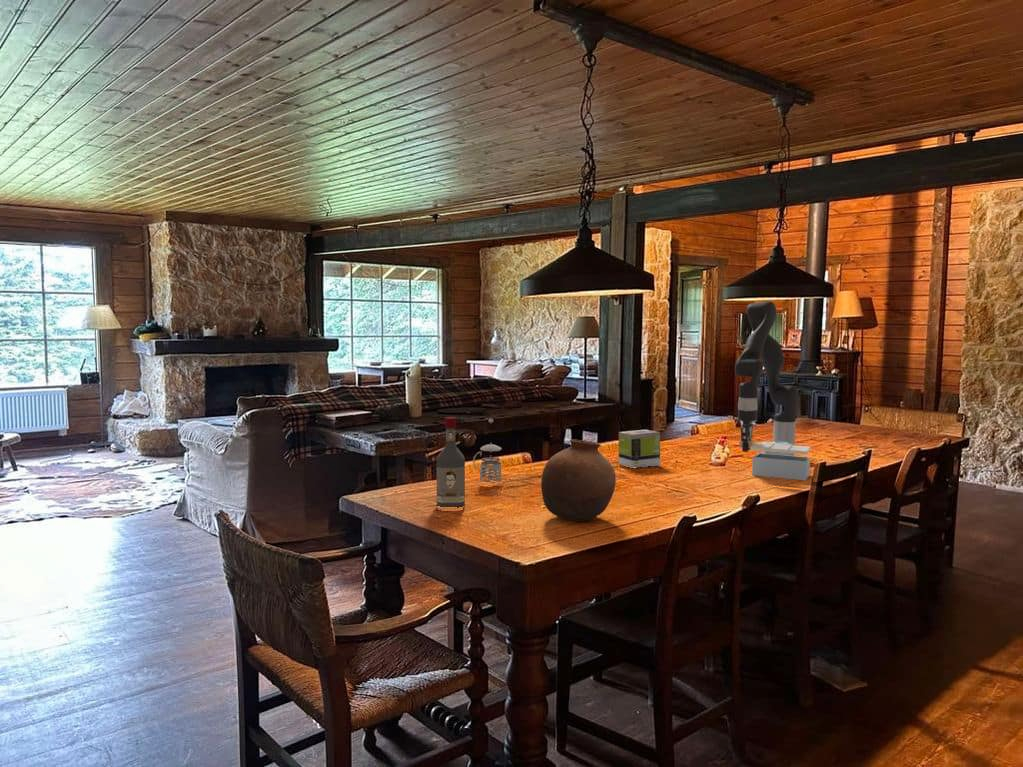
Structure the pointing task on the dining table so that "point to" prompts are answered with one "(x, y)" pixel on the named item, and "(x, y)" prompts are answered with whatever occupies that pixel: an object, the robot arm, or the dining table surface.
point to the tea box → (639, 448)
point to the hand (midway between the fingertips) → (746, 450)
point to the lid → (777, 447)
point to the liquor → (450, 471)
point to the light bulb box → (777, 452)
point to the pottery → (578, 482)
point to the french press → (487, 461)
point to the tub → (781, 466)
